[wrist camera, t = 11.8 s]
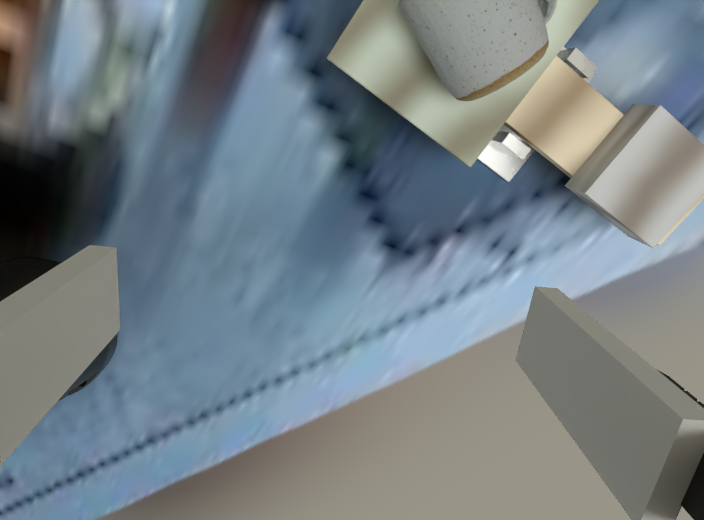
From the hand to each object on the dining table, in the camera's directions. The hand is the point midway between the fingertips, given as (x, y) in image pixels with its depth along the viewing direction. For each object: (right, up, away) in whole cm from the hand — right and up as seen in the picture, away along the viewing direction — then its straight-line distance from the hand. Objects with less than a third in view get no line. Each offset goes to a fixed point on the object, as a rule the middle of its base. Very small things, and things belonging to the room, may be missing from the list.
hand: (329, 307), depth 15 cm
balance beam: (+16, +14, +24) cm, 32 cm away
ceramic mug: (+10, +19, +19) cm, 29 cm away
